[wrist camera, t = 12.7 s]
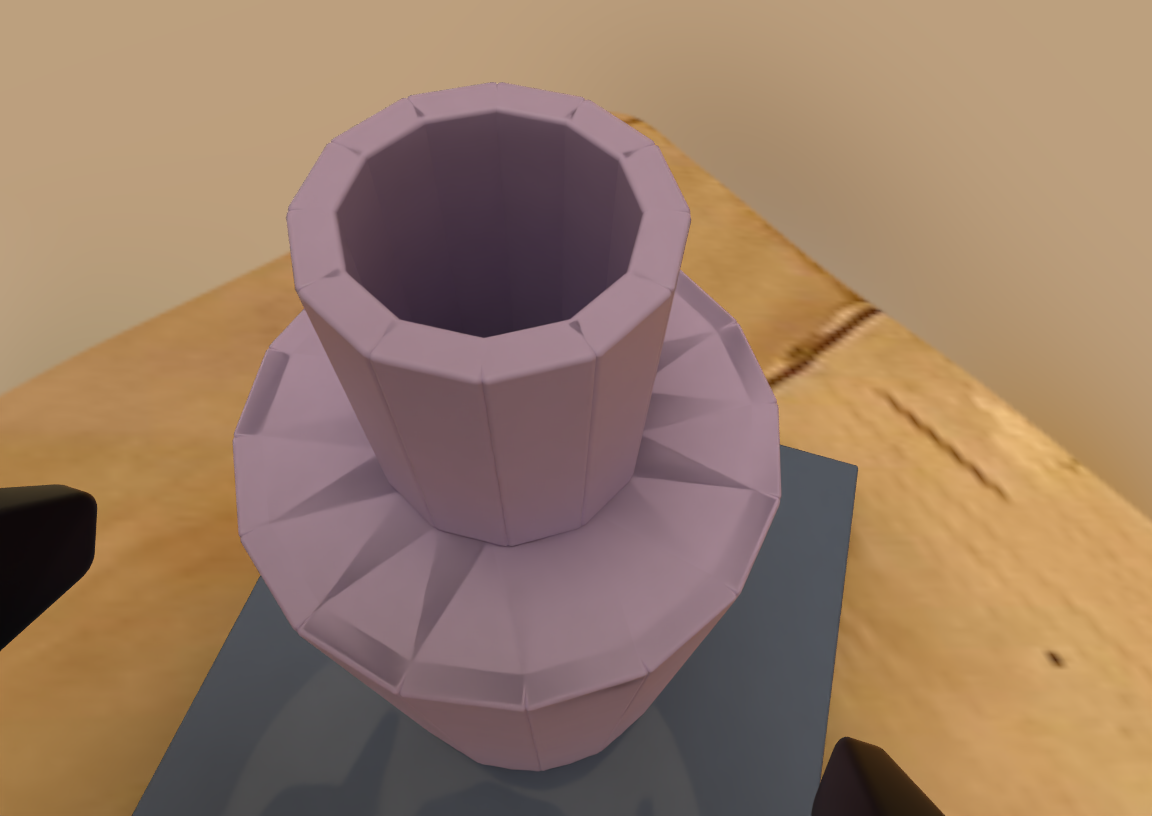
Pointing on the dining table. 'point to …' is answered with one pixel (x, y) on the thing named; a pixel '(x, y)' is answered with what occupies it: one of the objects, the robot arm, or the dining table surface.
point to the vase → (504, 425)
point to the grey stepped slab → (562, 794)
